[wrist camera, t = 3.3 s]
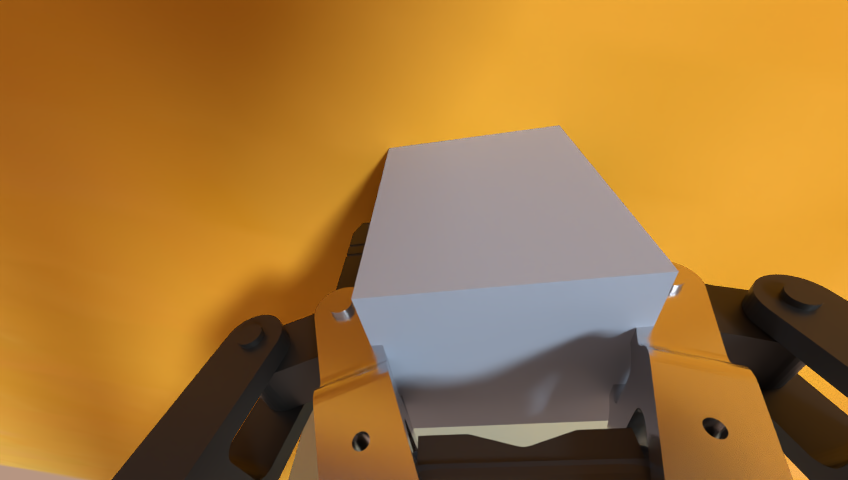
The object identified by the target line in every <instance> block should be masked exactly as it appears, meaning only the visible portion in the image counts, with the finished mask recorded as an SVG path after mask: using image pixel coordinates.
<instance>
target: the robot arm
mask: <svg viewBox="0 0 848 480" xmlns="http://www.w3.org/2000/svg"><path fill="white" fill-rule="evenodd" d="M369 226H370V223H362V224H361V226H360V227H359V228H358V229H357V230H356V231H355V232H354V234H353V236H352V240H351V243H350V247H349V249H348V253H347V257H346V259H345V263H344V266H343V269H342V272H341V276H340V279H339V282H338V286H337V289H336V291H333V292H332V293H330V294H328V295H327V296H326V297H325V298H323V299H322V301H321V302H320V303H319V304H318V306H317V308H316V310H315V314H313V315H311V316H308V317H306V318H303V319H300V320H297V321H294V322H291V323H288V324H286V325H282V323H281V322H280V320H279V319H278V318H276V317H274V316H271V315H260V316H256V317H253V318H251V319H249V320H247V321H245V322H243V323H242V324H240V325H239V326H238V327H236V328H235V329H234V330H233V331H232V332H231V333H230V334H229V336H228V337H227V338H226V339H225V341H224V342H223V343H222V344H221V345H220V347H219V348H218V349H217V350H216V352H215V353H214V354H213V355H212V357H211V358H210V359H209V360H208V362H207V363H206V364H205V365H204V366H203V368H202V369H201V370H200V371H199V373H198V374H197V375H196V376H195V378H194V379H193V380H192V381H191V383H190V384H189V385H188V386H187V387H186V389H185V390H184V391H183V392H182V394H181V395H180V396H179V397H178V399H177V400H176V401H175V402H174V403H173V405H172V406H171V407H170V408H169V410H168V411H167V412H166V413H165V415H164V416H163V417H162V418H161V420H160V421H159V422H158V423H157V424H156V426H155V427H154V428H153V429H152V431H151V432H150V433H149V434H148V436H147V437H146V438H145V439H144V441H143V442H142V443H141V444H140V445H139V447H138V448H137V449H136V450H135V452H134V453H133V454H132V455H131V457H130V458H129V459H128V460H127V462H126V463H125V464H124V465H123V466H122V468H121V469H120V470H119V471H118V473H117V474H116V475H115V476H114V478H113V479H112V480H279V478H280V475H281V473H282V471H283V469H284V467H285V465H286V463H287V461H288V459H289V457H290V455H291V453H292V451H293V449H294V447H295V445H296V443H297V441H298V439H299V437H300V435H301V433H302V431H303V429H304V427H305V425H306V423H307V421H308V419H309V417H310V415H311V413H312V411H313V410H314V424H315V438H316V452H317V466H318V480H793V478H792V476H791V473H790V470H789V467H788V464H787V462H786V459H785V456H784V454H785V455H786V456H787V457H788V458H789V459H790V460H791V461H792V462H793V463H794V464H795V465H796V466H797V467H798V468H799V470H800V471H801V472H802V473H803V474H804V475H805V476H806V477H807V478H808V479H809V480H848V415H847V414H846V413H844V412H843V411H842V410H841V409H839V408H838V407H837V406H836V405H835V404H833V403H832V402H831V401H830V400H829V399H827V398H826V397H825V396H824V395H823V394H821V393H820V392H819V391H818V390H817V389H815V388H814V387H813V386H812V385H810V384H809V383H808V382H807V381H806V380H804V379H803V378H802V377H801V376H800V375H798V374H797V373H798V372H799V371H800V370H801V369H802V368H803V367H804V366H805V365H807V366H808V367H810V368H811V369H812V370H813V371H815V372H816V373H817V374H818V375H820V376H821V377H822V378H824V379H825V380H826V381H827V382H829V383H830V384H831V385H832V386H834V387H835V388H836V389H837V390H839V391H840V392H841V393H842V394H844V395H845V396H846V397H848V301H846V300H845V299H843V298H842V297H840V296H838V295H837V294H835V293H833V292H832V291H830V290H828V289H826V288H824V287H823V286H820V285H818V284H816V283H814V282H811V281H808V280H805V279H802V278H798V277H794V276H788V275H767V276H763V277H760V278H758V279H757V280H756V281H755V282H754V284H753V285H752V287H751V288H750V290H743V289H735V288H728V287H721V286H713V285H708V284H704V282H703V281H702V279H701V278H700V277H699V276H698V275H697V274H695V273H694V272H693V271H691V270H690V269H688V268H686V267H684V266H682V265H679V264H676V263H673V262H671V263H672V264H673V265H674V266H675V267H676V269H677V270H678V271H679V272H678V274H677V276H676V279H675V281H674V283H673V285H672V287H671V290H670V292H669V294H668V296H667V298H666V301H665V303H664V305H663V307H662V310H661V312H660V314H659V316H658V318H657V321H656V323H655V325H654V326H650V327H636V329H635V332H634V334H633V337H632V339H631V342H630V347H631V367H630V373H629V377H628V379H627V382H626V384H615V385H613V387H612V389H611V392H610V394H609V419H608V424H607V429H585V430H575V431H572V432H569V433H566V434H563V435H560V436H557V437H554V438H551V439H548V440H545V441H543V442H540V443H537V444H534V445H531V446H527V447H520V446H515V445H511V444H507V443H503V442H499V441H495V440H491V439H487V438H482V437H478V436H474V435H470V434H453V435H427V436H418V441H417V438H416V435H415V432H414V429H413V427H412V423H411V420H410V417H409V414H408V411H407V407H406V404H405V402H404V399H403V396H402V395H401V396H400V394H399V392H398V389H397V386H396V383H395V380H394V377H393V374H392V371H391V368H390V364H389V361H388V357H387V355H386V352H385V350H384V347H383V345H373V346H371V345H370V342H369V340H368V337H367V335H366V333H365V330H364V328H363V326H362V323H361V321H360V319H359V316H358V314H357V312H356V309H355V307H354V304H353V302H352V300H351V298H352V294H353V290H354V286H355V282H356V278H357V274H358V270H359V266H360V262H361V258H362V254H363V250H364V246H365V242H366V238H367V234H368V230H369ZM259 397H260V398H259ZM258 398H259V399H258ZM257 400H258V401H257ZM256 402H257V403H256ZM255 403H256V404H255ZM254 405H255V406H254ZM253 406H254V407H253ZM252 408H253V409H252ZM251 409H252V411H251ZM250 411H251V412H250ZM249 413H250V414H249ZM248 414H249V415H248ZM247 416H248V417H247ZM246 417H247V419H246ZM245 419H246V420H245ZM244 421H245V422H244ZM243 422H244V423H243ZM242 424H243V425H242ZM241 425H242V427H241ZM240 427H241V428H240ZM239 429H240V430H239ZM238 430H239V431H238ZM237 432H238V433H237ZM236 433H237V435H236ZM235 435H236V436H235ZM234 437H235V438H234ZM233 438H234V439H233ZM232 440H233V441H232ZM231 442H232V443H231Z"/></svg>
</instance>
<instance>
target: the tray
mask: <svg viewBox="0 0 848 480" xmlns="http://www.w3.org/2000/svg"><path fill="white" fill-rule="evenodd" d="M607 424H608V421H586V422H561V423H536V424H511V425H487V426H462V427H437V428H413V429H414V432H415V435H416V438H417V441H418V436H427V435H453V434H470V435H474V436H478V437H482V438H487V439H491V440H495V441H499V442H503V443H507V444H511V445H515V446H520V447H527V446H531V445H534V444H537V443H540V442H543V441H545V440H548V439H551V438H554V437H557V436H560V435H563V434H566V433H569V432H572V431H575V430H585V429H607ZM289 480H318V466H317V452H316V438H315V424H314V410H313V411H312V413H311V415H310V417H309V419H308V421H307V423H306V425H305V427H304V429H303V431H302V434H301V438H300V441H299V445H298V448H297V452H296V455H295V459H294V462H293V466H292V469H291V473H290V476H289Z"/></svg>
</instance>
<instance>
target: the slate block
mask: <svg viewBox="0 0 848 480" xmlns="http://www.w3.org/2000/svg"><path fill="white" fill-rule="evenodd" d="M678 272H679V271H678V270H677V269H676V267H675V266H674V265H673V264H672V263H671V261H670V260H669V259H668V258H667V256H666V255H665V254H664V253H663V252H662V250H661V249H660V248H659V247H658V245H657V244H656V243H655V242H654V241H653V239H652V238H651V237H650V236H649V234H648V233H647V232H646V231H645V230H644V228H643V227H642V226H641V225H640V223H639V222H638V221H637V220H636V219H635V217H634V216H633V215H632V214H631V212H630V211H629V210H628V209H627V208H626V206H625V205H624V204H623V203H622V201H621V200H620V199H619V198H618V197H617V195H616V194H615V193H614V192H613V190H612V189H611V188H610V187H609V186H608V184H607V183H606V182H605V181H604V179H603V178H602V177H601V176H600V175H599V173H598V172H597V171H596V170H595V168H594V167H593V166H592V165H591V164H590V162H589V161H588V160H587V159H586V158H585V156H584V155H583V154H582V153H581V151H580V150H579V149H578V148H577V147H576V145H575V144H574V143H573V142H572V140H571V139H570V138H569V137H568V136H567V134H566V133H565V132H564V131H563V129H562V128H561V127H560V126H552V127H545V128H537V129H530V130H522V131H515V132H507V133H500V134H492V135H485V136H478V137H470V138H463V139H455V140H448V141H440V142H433V143H425V144H418V145H410V146H403V147H395V148H389V151H388V155H387V159H386V163H385V167H384V171H383V175H382V179H381V183H380V186H379V190H378V194H377V198H376V202H375V206H374V210H373V214H372V218H371V222H370V226H369V230H368V234H367V238H366V242H365V246H364V250H363V254H362V258H361V262H360V266H359V270H358V274H357V278H356V282H355V286H354V290H353V294H352V298H351V300H352V302H353V304H354V307H355V309H356V312H357V314H358V316H359V319H360V321H361V323H362V326H363V328H364V330H365V333H366V335H367V337H368V340H369V342H370V345H371V346H373V345H383V347H384V350H385V352H386V355H387V357H388V361H389V364H390V368H391V371H392V374H393V377H394V380H395V383H396V386H397V389H398V392H399V394H400V396H401V395H402V396H403V399H404V402H405V404H406V407H407V411H408V414H409V417H410V420H411V423H412V427H413V428H437V427H462V426H487V425H511V424H536V423H561V422H586V421H608V419H609V394H610V392H611V389H612V387H613V385H615V384H626V382H627V379H628V377H629V373H630V367H631V347H630V342H631V339H632V337H633V334H634V332H635V329H636V327H650V326H654V325H655V323H656V321H657V318H658V316H659V314H660V312H661V310H662V307H663V305H664V303H665V301H666V298H667V296H668V294H669V292H670V290H671V287H672V285H673V283H674V281H675V279H676V276H677V274H678Z"/></svg>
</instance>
